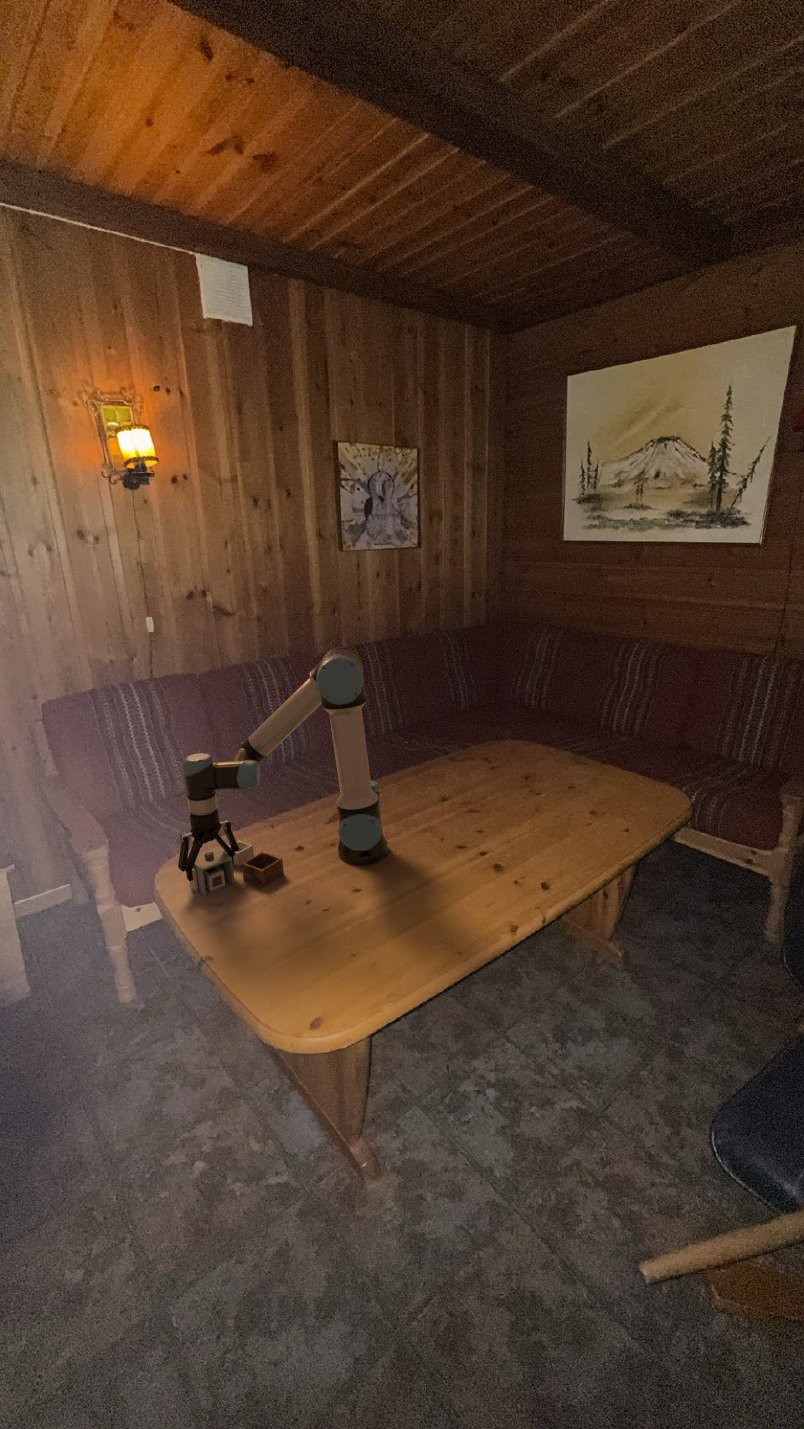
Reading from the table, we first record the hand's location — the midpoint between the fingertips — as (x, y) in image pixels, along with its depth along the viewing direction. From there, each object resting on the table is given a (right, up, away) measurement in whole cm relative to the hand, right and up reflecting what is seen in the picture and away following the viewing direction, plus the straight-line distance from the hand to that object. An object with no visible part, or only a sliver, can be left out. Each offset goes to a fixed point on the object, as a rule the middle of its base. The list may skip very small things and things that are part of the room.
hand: (212, 882), depth 176 cm
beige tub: (+5, +3, +12) cm, 13 cm away
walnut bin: (+14, +1, +3) cm, 14 cm away
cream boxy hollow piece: (+1, -1, -1) cm, 1 cm away
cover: (0, 0, 0) cm, 0 cm away
